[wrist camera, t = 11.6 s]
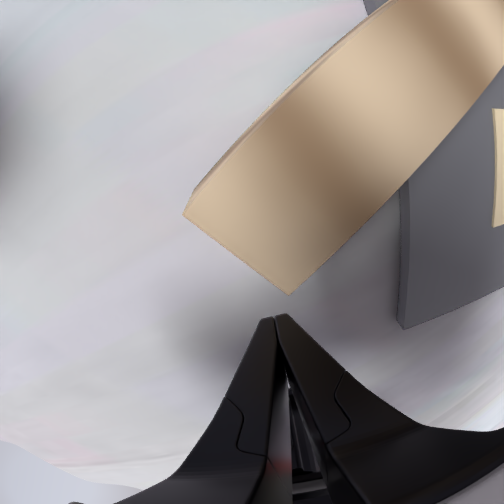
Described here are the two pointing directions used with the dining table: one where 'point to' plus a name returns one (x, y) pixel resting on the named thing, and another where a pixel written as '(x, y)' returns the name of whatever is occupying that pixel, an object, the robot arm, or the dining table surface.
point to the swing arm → (348, 134)
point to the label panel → (454, 214)
